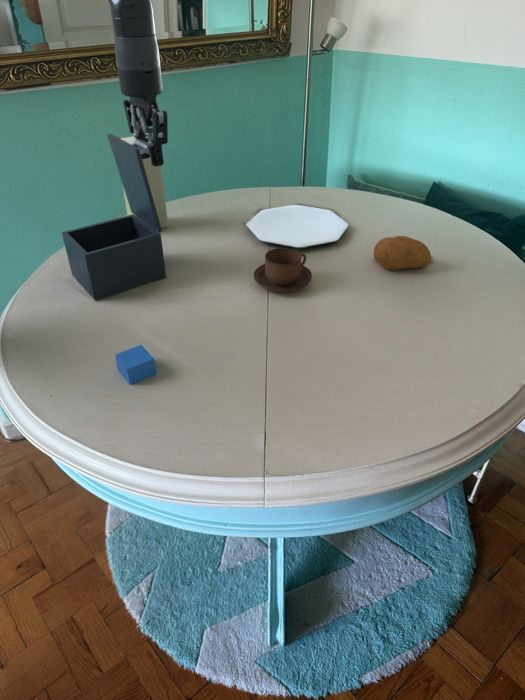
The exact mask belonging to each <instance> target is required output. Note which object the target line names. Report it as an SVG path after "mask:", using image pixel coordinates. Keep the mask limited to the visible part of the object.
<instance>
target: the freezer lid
mask: <svg viewBox="0 0 525 700" xmlns="http://www.w3.org/2000/svg"><path fill="white" fill-rule="evenodd" d="M106 137H107V139H108V142H109V146H110V148H111V149H110V150H111V152H112V155H113V158H114V162H115V164H116V168H117V171H118V174H119V177H120V180H121V184H122V188H123V187H124V190H125V193H126V196H127V199H128V203H129V206H130V209H131V212H132V213H133V214H134V215H136V216H137V217H138V218H140V219H141V220H143V221H144V222H145V223H147V224H148V225H149V226H151V227H152V228H153V229H155V230H156V231H157V232H159V233H161V232H163V228H161V225H160V222H159V218H158V214H157V211H156V207H155V204H154V200H153V197H152V193H151V189H150V186H149V182H148V179H147V175H146V172H145V168H144V164H143V161H142V157H141V154H143V153H147V154H150V147H149V146H150V145H149V143H147V142H145V141H143V140H141V139H136V140H135V142H134V144H129V143H127V142H125V141H124V140H122V139H121V138H120V137H118V136H116V135H115V134H113V133H108V134H106ZM139 149H140V150H139ZM124 190H123V191H124Z"/></svg>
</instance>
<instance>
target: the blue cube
mask: <svg viewBox="0 0 525 700" xmlns="http://www.w3.org/2000/svg"><path fill="white" fill-rule="evenodd" d="M114 358H115V363H116V368H117V371H118V372H119V373H120V375H121V376H122V377H123V378H124V380H125V381H126V382H127V383H128V385H129V386H131V385H134V384H136V383H139V382H142V381H144V380H145V379H148V378H150V377H153V376H155V375H158V373H157V365H156V360H155V357H153V355H152V354H150V352H149V351H148V350H147V349H146V347H144V346H143V345H142V344H139V345H136V346H134V347H131V348H128V349H126V350H123V351H121V352H118V353H116V354H114Z"/></svg>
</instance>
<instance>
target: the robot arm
mask: <svg viewBox="0 0 525 700" xmlns="http://www.w3.org/2000/svg"><path fill="white" fill-rule="evenodd" d="M107 1H108V4H109V9H110V16H111V17H110V19H111V23H112V32H113V38H114V39H113V40H114V41H113V42H114V56H115V61H116V67H117V74H118V81H119V86H120V87H119V88H120V93H121V94H122V95H123V96H125V97H127V98H128V97H129V98H128V99H124V100H122V105H123V109H124V113H125V116H126V122H127V125H128V131H129V133H130V134H133V136H134V138H135V139H141V140H143V141H145V142H147V143H149V145H150V146H149V147H150V154H151V162H152V165H153V166H155V167H157V166H162V167H163V165H164V164H165V162H164V154H163V145H166V144H168V143H169V138H168V133H169V132H168V131H169V129H168V126H169V125H168V112H167V111H166V110H160V107H159V104H158V99H157V97H158V96H159V95H161V94H162V93H163V91H164V87H163V79H162V78H163V77H162V68H161V58H160V50H159V46H158V40H157V35H156V27H155V26H156V25H155V18H154V10H153V8H154V7H153V4H152V0H107ZM146 137H147V138H146ZM152 137H153V138H152ZM148 141H149V142H148ZM139 150H140V149H139ZM150 154H147V153H143V154H141V157H142V159H146V158H149V157H150Z"/></svg>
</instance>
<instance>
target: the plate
mask: <svg viewBox="0 0 525 700" xmlns="http://www.w3.org/2000/svg"><path fill="white" fill-rule="evenodd" d="M246 227H247V228H248V230H249V231H250V232H251V233H252V235H254V236H255V238H256V239H257V240H258V241H260V242H261V243H265V244H271V245H277V246H282V247H286V248H291V249H306V248H312V247H317V246H323V245H328V244H333V243H337V242H339V241H340V239H341V237H342V236H343V235H344V233H345V232H346V231H347V229H348V228H349V224H348V222H347V221H345V220H343V219H342V218H341V217H340V216H338V215H337V214H336V213H335V212H333V211H332V210H330V209H326V208H318V207H312V206H306V205H301V204H291V205H285V206H277V207H272V208H265V209H261V210H260V211H259V212H258V213H256V214H255V215H254V216H253V217H252V218H251V219H250V220H249V221H247V222H246Z"/></svg>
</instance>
